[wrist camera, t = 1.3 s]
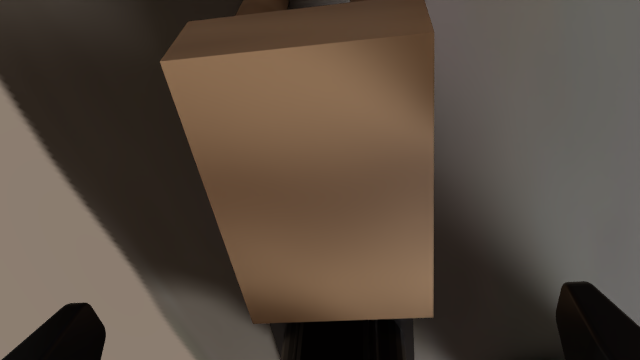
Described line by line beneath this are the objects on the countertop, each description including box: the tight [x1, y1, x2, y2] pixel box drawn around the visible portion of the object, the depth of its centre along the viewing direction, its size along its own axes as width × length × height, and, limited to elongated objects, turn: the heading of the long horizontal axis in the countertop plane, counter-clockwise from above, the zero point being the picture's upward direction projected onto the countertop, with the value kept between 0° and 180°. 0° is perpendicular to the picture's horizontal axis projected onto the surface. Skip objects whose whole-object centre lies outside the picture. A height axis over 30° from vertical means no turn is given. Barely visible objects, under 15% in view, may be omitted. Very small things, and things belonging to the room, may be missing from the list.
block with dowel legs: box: [160, 0, 434, 324], centre depth 14 cm, size 8×5×6 cm, turn 8°
